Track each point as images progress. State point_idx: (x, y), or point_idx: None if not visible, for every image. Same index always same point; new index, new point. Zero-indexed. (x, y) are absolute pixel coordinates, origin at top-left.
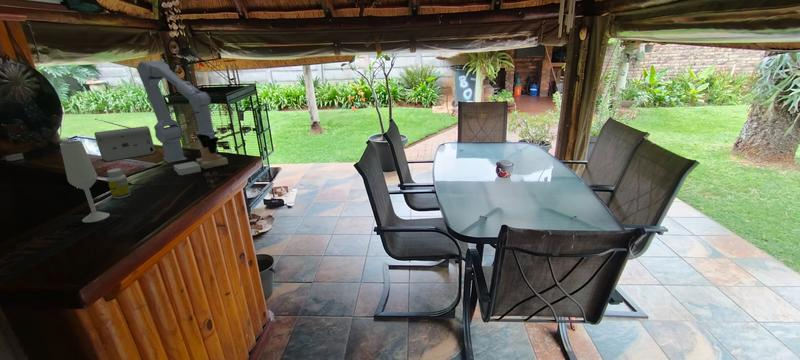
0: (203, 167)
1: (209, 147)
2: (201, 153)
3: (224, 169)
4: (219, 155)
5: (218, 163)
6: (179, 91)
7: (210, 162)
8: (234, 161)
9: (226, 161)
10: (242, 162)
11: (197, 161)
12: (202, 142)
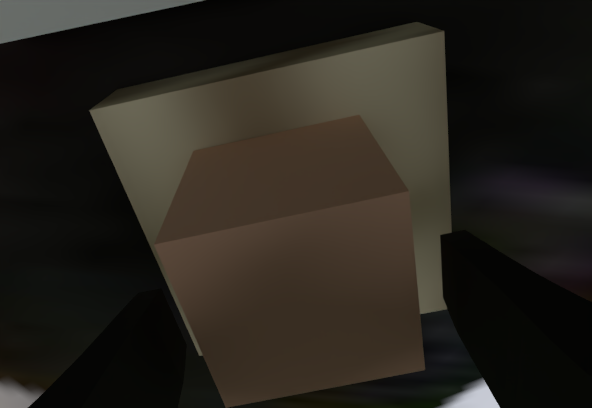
0: (155, 83)
1: (60, 389)
2: (343, 157)
3: (11, 266)
4: None
5: None
6: None
7: (127, 194)
8: None
9: None
10: (190, 401)
11: (375, 39)
12: (524, 334)
